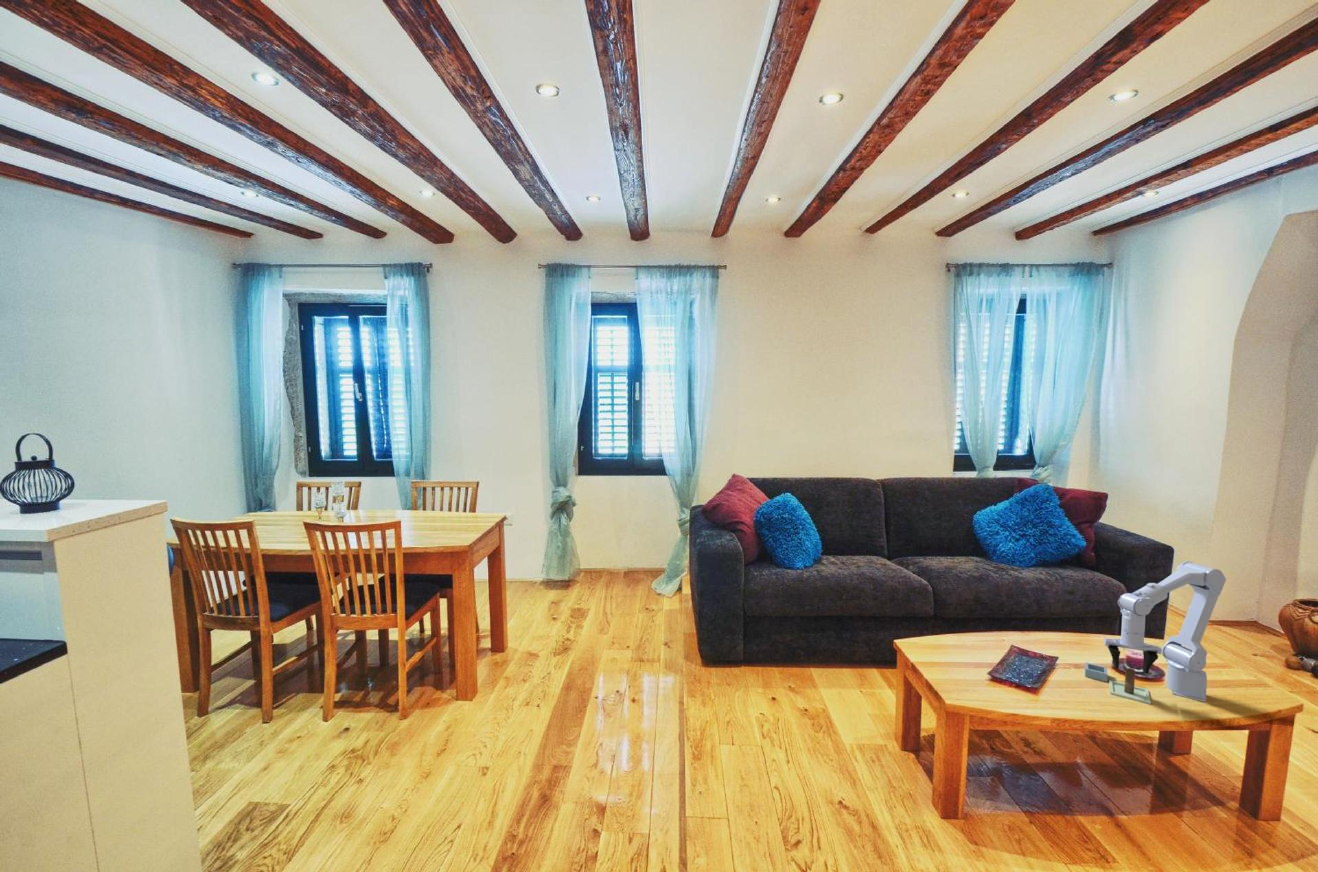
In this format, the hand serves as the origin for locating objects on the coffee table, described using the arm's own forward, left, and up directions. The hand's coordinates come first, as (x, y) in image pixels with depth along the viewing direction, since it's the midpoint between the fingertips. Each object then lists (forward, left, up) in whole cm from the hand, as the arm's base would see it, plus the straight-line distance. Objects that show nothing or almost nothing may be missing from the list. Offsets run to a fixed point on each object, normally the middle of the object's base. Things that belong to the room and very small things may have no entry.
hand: (1130, 669), depth 178 cm
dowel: (0, 0, -8) cm, 8 cm away
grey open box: (+9, -7, -9) cm, 14 cm away
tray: (0, 0, -9) cm, 9 cm away
